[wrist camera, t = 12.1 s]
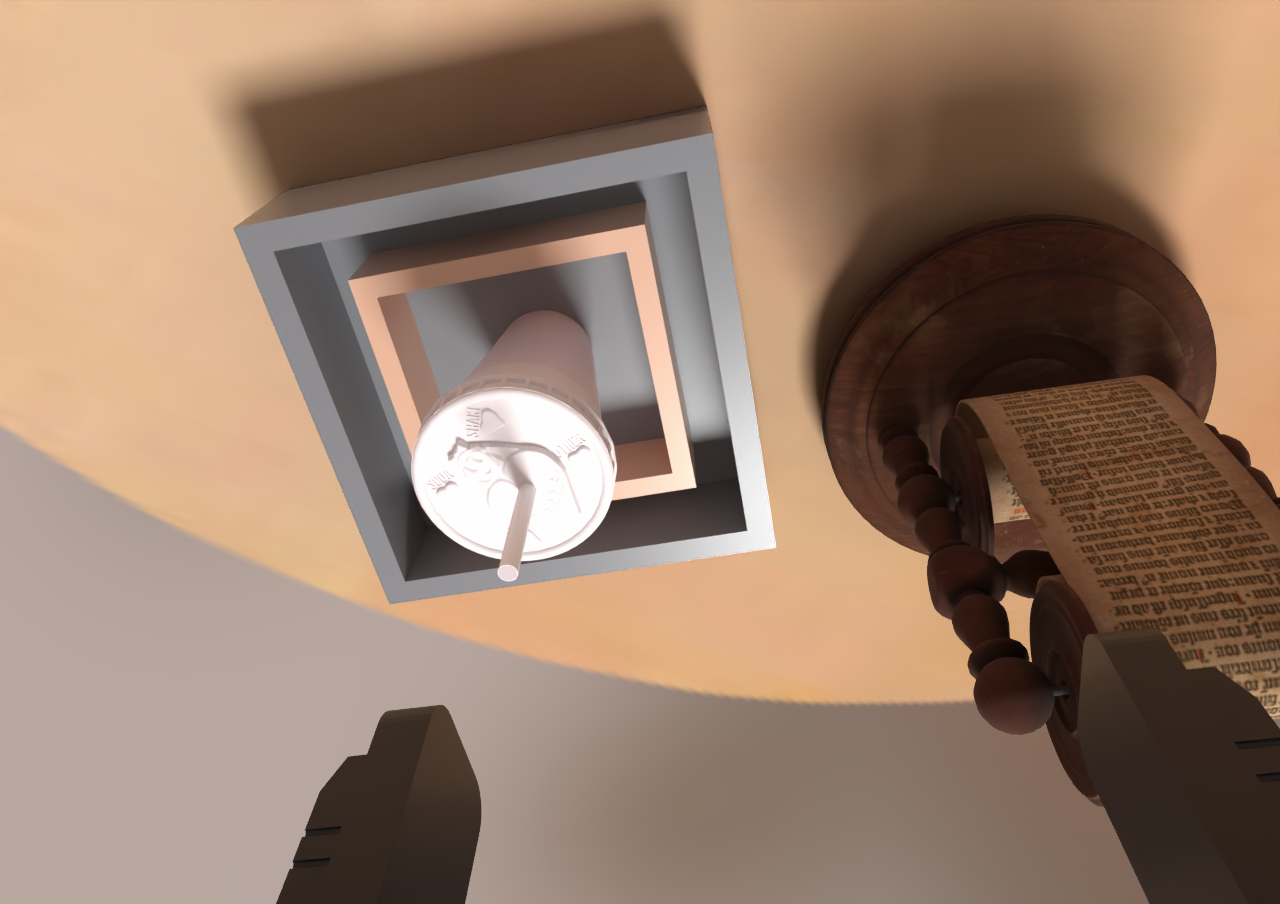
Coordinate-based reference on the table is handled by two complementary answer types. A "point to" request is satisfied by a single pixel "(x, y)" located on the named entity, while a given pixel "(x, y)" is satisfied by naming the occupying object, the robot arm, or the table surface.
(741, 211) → the table surface
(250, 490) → the table surface
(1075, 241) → the scroll
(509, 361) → the smoothie
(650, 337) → the socket box
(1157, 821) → the robot arm
